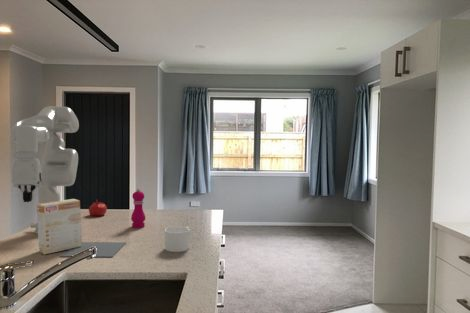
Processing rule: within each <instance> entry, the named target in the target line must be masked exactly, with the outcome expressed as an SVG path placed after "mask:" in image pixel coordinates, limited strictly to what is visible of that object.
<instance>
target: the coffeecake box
mask: <svg viewBox="0 0 470 313" xmlns="http://www.w3.org/2000/svg"><path fill="white" fill-rule="evenodd" d="M36 219H37V220H36V223H38V234H37V237H38V252H39V253H41V254H43V255H49V254H53V253H58V252H62V251H66V250H67V251H68V250H69V249H71V248H76V247H80V246H82V242H83V241H82V240H83V239H82V222H81V221H82V220H81V219H82V218H81V200H79V199H76V198H70V199H63V200H61V199H60V201H54V202H46V203H39V204H38V203H36Z"/></svg>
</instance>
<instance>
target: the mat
mask: <svg viewBox="0 0 470 313" xmlns="http://www.w3.org/2000/svg"><path fill="white" fill-rule="evenodd" d="M126 244H127V242H118V241H117V242H114V241H113V242H112V241H111V242H110V241H109V242H108V241H107V242H106V241H105V242H102V241H99V242H97V241H82V246H80V247H76V248H71V249H67V251H65V252H64V253H62V254H61V255H60V256H59V257H60V258H72V257H71V256H72V255H75V254H76V253H79V252H81V251H83V250H86V249H88V248H90V247H92V246H96V248H97V254H96V257H95V258H114V256H116V254H118V253H119V252H120V250H122V248H124V246H125V245H126Z"/></svg>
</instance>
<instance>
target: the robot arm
mask: <svg viewBox="0 0 470 313" xmlns="http://www.w3.org/2000/svg"><path fill="white" fill-rule="evenodd" d="M79 123H80V122H79V119H78V117H77V115H76V114H75V112H74V111H73V109H71V108H70V107H68V106H56V105H55V106H53V105H49V106H45V107H43V109H41V110H40V112H39V113H37V115H34V116H30V117H27V118H23V119H21V120H19V121H17V122H16V123H15V124H14V125H13V126H12V127H11V129H10V133H9V137H10V139H11V141H12V142H13V143H15V144H16V151H15V153H13V157H15V158H16V159H14V161H13V164H12V170H11V172H12V173H11V183H12V184H13V187H15V188H18V189H20V190H21V193H22V200H23V203H29V202H32V200H33V192H34V191H35V190H36V189H37V204H39V203H46V202H54V201H61V196H60V192H59V191H58V189H57V188H56V187H71V186H73V185H74V184H75V181H76V178H77V171H78V166H79V154H78V152H77V150H76V149H74V148H65V147H66V142H65V140H64V139H63V137H61V135H59V133H61V134H62V133H66V134H67V133H69V134H72V133H76V132H78V130H79V127H80V124H79ZM44 144H45V148H44V152H43V158H42V163H43V165H44V166H42V164H41V162H40V159H39V145H44ZM30 228H35V229H34V234H37V235H38V222H31V223H30Z"/></svg>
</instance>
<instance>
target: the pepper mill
mask: <svg viewBox="0 0 470 313" xmlns="http://www.w3.org/2000/svg"><path fill="white" fill-rule="evenodd" d="M132 199H133V201H132V202H133V205H134V207H133V208H134V209H133V210H132V214H131V218H130V220H131V222H132V223H131V227H132V228H135V229H140V228H144V227H145V220H146V214H145V212H144V209H143V204H144V199H145V193H144V192H143V191H141V189H140V187H138V188H137V189H136V191H134V192H133V193H132Z"/></svg>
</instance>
